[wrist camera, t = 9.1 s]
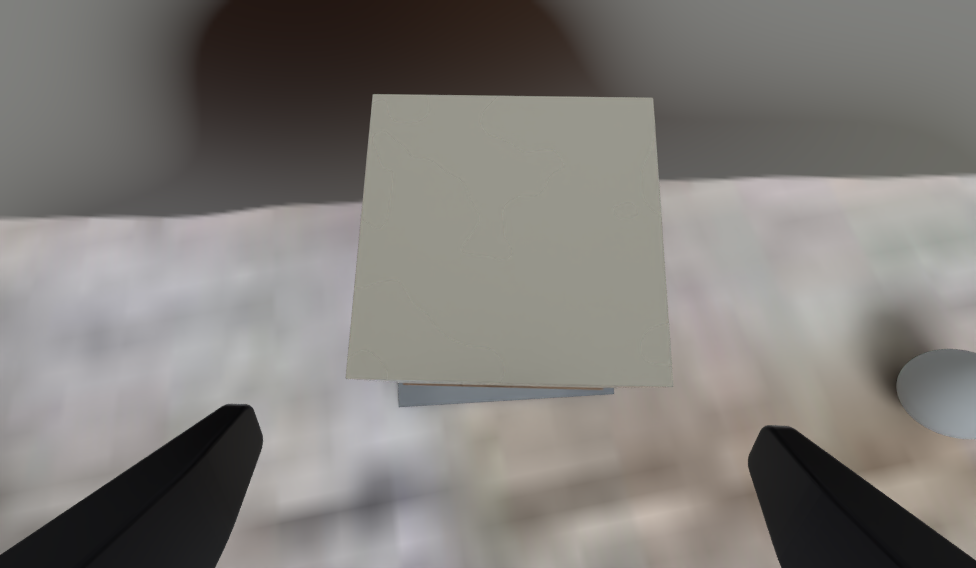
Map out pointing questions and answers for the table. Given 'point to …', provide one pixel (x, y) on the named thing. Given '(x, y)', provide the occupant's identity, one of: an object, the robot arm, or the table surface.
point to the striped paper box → (511, 245)
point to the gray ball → (941, 391)
